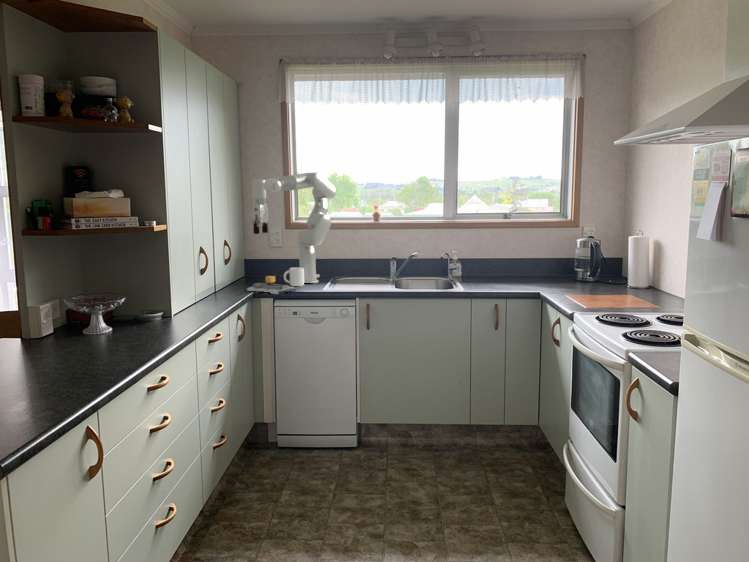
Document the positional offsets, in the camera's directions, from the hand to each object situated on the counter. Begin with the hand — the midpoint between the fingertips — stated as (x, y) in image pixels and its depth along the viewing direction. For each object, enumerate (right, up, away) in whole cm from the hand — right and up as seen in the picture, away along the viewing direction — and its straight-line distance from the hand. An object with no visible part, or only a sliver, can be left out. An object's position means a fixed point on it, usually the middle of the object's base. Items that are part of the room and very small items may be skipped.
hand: (260, 233), depth 333 cm
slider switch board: (+6, -32, -3) cm, 33 cm away
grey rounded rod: (-4, -31, +3) cm, 32 cm away
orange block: (+6, -30, -3) cm, 30 cm away
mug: (+17, -29, +14) cm, 37 cm away
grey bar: (+16, -33, -9) cm, 37 cm away
